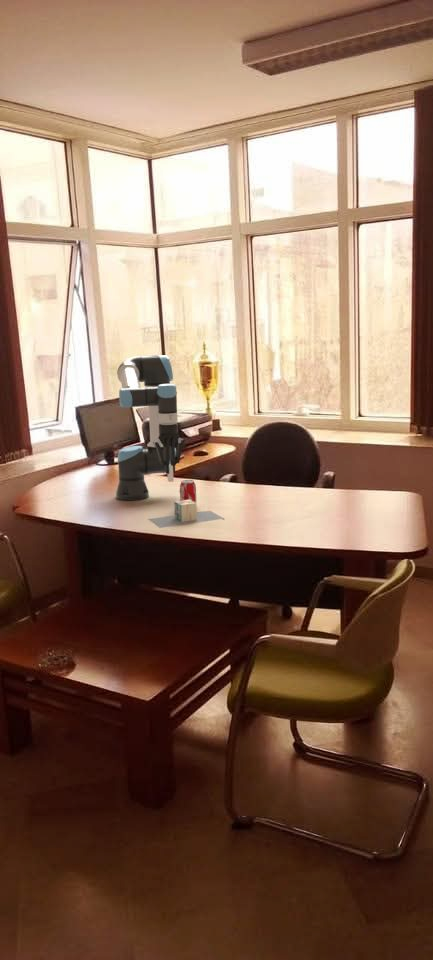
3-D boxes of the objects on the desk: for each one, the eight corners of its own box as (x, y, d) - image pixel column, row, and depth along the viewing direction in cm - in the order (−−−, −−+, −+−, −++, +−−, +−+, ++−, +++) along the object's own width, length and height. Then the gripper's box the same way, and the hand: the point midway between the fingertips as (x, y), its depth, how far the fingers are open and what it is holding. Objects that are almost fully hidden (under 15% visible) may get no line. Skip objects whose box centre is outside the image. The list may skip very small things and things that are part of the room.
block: (174, 501, 317) (190, 499, 320) (174, 518, 319) (190, 515, 322) (180, 505, 311) (196, 503, 314) (180, 521, 313) (196, 519, 315)
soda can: (194, 510, 331) (193, 483, 329) (178, 510, 333) (177, 482, 330) (198, 506, 338) (197, 479, 336) (182, 506, 340) (181, 479, 337)
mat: (147, 519, 318) (147, 519, 318) (209, 511, 329) (209, 510, 329) (159, 528, 305) (159, 527, 305) (224, 519, 316) (224, 518, 316)
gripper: (156, 425, 300) (158, 484, 306) (187, 423, 305) (189, 481, 311) (149, 423, 307) (152, 481, 312) (179, 420, 312) (182, 477, 317)
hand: (170, 481), depth 311 cm, fingers closed
